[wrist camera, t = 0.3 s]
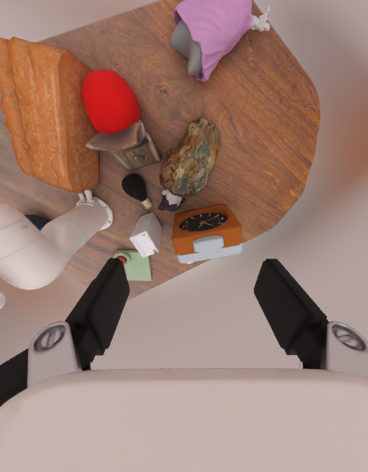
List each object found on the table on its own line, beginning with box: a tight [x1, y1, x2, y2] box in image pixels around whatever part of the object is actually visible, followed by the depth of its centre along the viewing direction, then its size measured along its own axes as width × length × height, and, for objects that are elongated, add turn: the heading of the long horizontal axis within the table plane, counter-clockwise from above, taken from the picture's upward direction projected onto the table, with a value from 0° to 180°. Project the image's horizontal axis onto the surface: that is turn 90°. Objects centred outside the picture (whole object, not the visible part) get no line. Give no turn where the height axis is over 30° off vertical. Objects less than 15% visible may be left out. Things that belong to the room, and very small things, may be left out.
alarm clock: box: [172, 204, 242, 263], centre depth 47 cm, size 18×9×21 cm, turn 103°
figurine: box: [158, 189, 186, 211], centre depth 48 cm, size 10×6×15 cm
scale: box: [113, 250, 152, 281], centre depth 65 cm, size 17×14×4 cm
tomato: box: [82, 70, 141, 134], centre depth 36 cm, size 12×12×13 cm
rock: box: [159, 118, 221, 198], centre depth 42 cm, size 22×8×15 cm
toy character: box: [170, 0, 270, 82], centre depth 31 cm, size 12×10×20 cm
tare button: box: [118, 256, 126, 264], centre depth 61 cm, size 4×4×2 cm
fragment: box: [86, 120, 161, 169], centre depth 39 cm, size 13×16×5 cm
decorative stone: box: [25, 215, 48, 231], centre depth 53 cm, size 12×12×10 cm
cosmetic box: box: [129, 212, 163, 257], centre depth 50 cm, size 8×6×15 cm
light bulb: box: [122, 174, 152, 208], centre depth 49 cm, size 7×7×12 cm
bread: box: [0, 37, 99, 193], centre depth 37 cm, size 14×27×15 cm
